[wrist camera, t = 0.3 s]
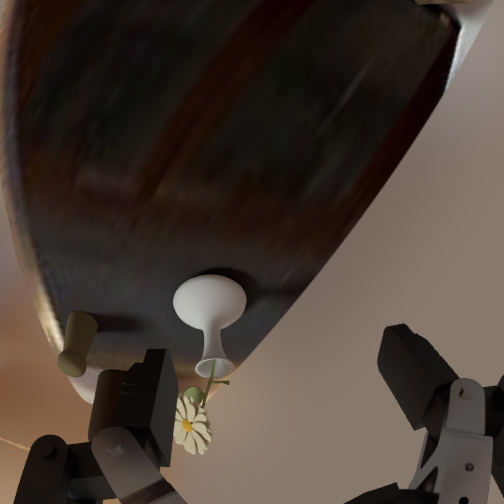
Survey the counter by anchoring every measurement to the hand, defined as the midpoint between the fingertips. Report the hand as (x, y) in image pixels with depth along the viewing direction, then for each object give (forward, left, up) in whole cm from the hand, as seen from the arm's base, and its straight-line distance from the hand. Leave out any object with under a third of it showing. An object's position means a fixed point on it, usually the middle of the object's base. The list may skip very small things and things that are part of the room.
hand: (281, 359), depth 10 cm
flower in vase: (+15, -20, -29) cm, 39 cm away
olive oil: (+17, -54, -29) cm, 64 cm away
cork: (+2, -40, -29) cm, 50 cm away
